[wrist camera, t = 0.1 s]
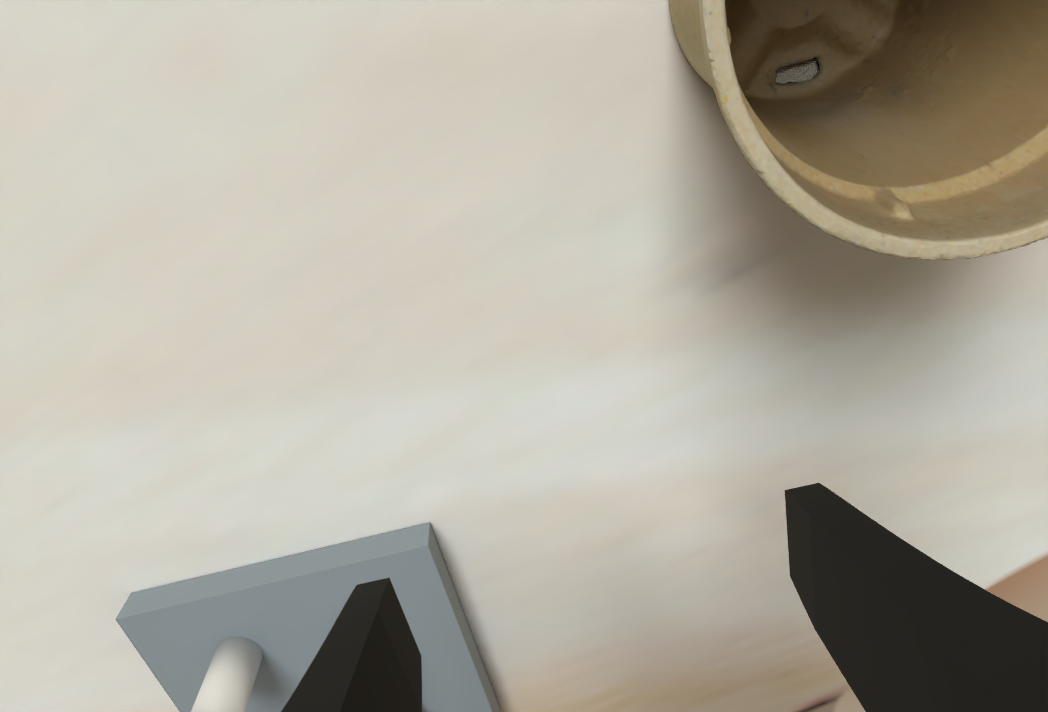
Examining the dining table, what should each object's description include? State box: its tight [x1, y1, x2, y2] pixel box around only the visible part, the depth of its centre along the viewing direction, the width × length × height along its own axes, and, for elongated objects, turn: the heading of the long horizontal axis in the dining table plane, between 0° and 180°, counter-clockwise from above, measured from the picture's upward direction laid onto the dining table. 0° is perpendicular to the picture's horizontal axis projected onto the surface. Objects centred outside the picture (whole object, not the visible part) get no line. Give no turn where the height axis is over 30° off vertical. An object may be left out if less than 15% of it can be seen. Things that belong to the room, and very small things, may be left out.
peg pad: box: [116, 523, 500, 712], centre depth 25 cm, size 10×11×4 cm
